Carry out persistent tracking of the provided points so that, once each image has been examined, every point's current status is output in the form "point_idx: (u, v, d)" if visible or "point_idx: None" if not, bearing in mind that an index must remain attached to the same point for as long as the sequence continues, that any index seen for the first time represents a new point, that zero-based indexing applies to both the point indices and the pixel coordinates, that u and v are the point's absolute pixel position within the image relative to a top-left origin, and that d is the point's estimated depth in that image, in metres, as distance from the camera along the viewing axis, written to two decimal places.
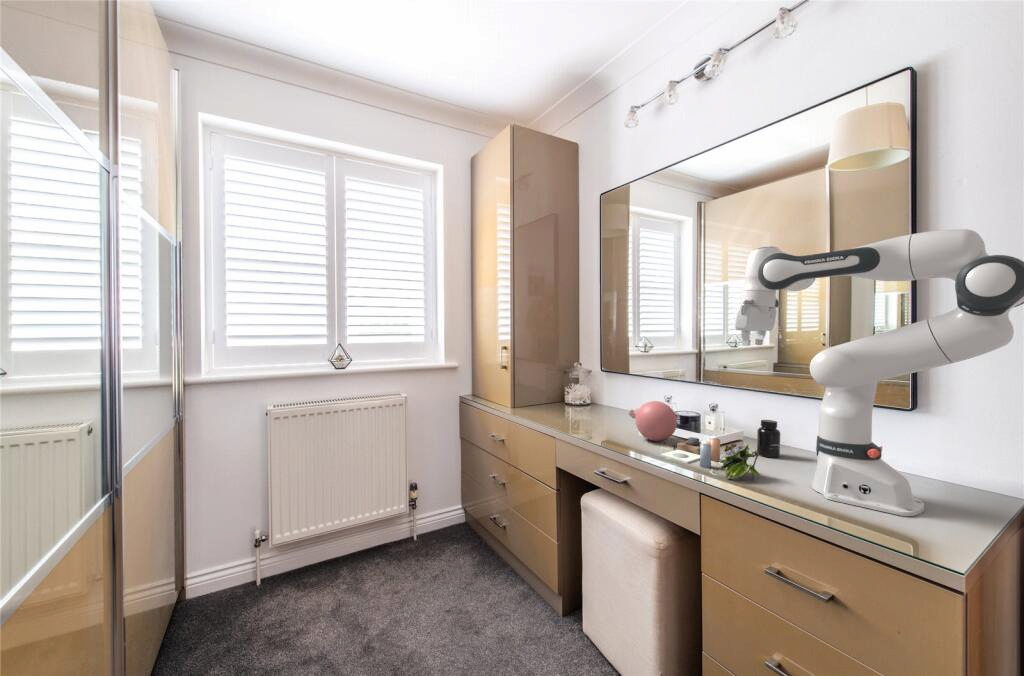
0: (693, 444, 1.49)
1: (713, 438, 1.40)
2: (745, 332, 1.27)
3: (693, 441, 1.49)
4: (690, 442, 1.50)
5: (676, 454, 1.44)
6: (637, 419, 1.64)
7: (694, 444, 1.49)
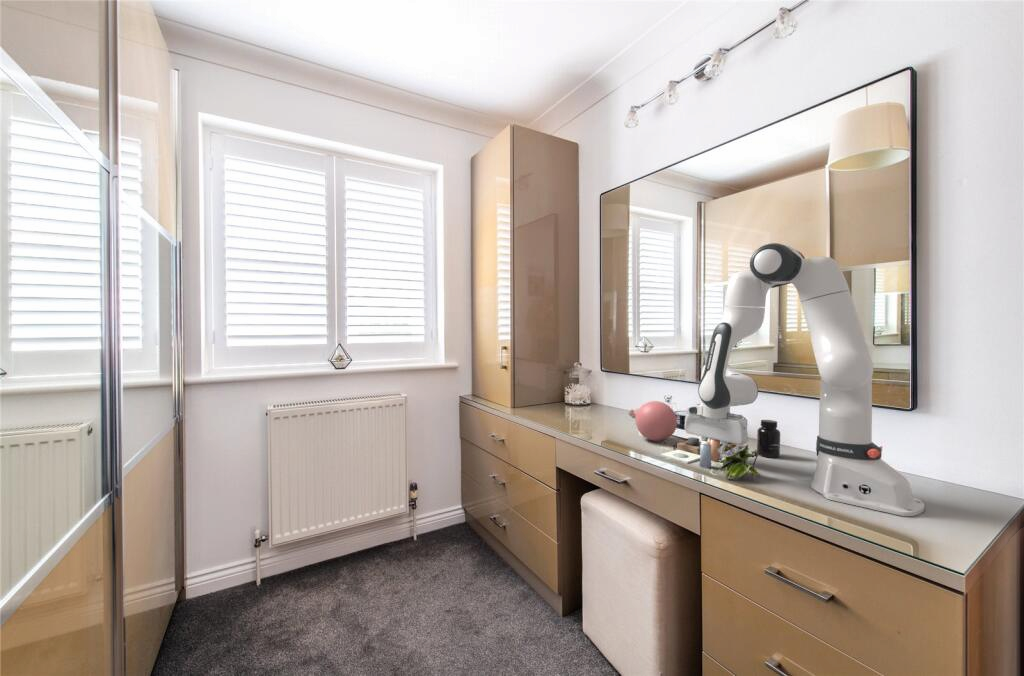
0: (693, 444, 1.49)
1: None
2: (727, 442, 1.37)
3: (693, 441, 1.49)
4: (690, 442, 1.50)
5: (676, 454, 1.44)
6: (637, 419, 1.64)
7: (694, 444, 1.49)
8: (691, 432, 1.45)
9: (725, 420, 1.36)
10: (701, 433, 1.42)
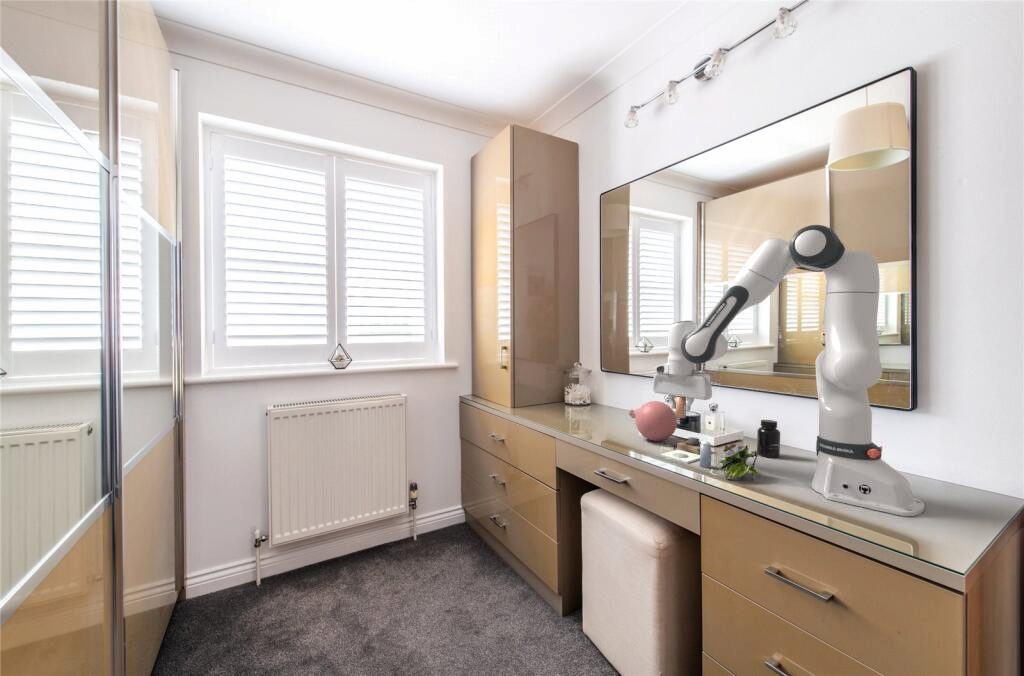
0: (693, 444, 1.49)
1: None
2: (692, 399, 1.39)
3: (693, 441, 1.49)
4: (690, 442, 1.50)
5: (676, 454, 1.44)
6: (637, 419, 1.64)
7: (694, 444, 1.49)
8: (659, 391, 1.48)
9: (690, 377, 1.38)
10: (668, 391, 1.45)
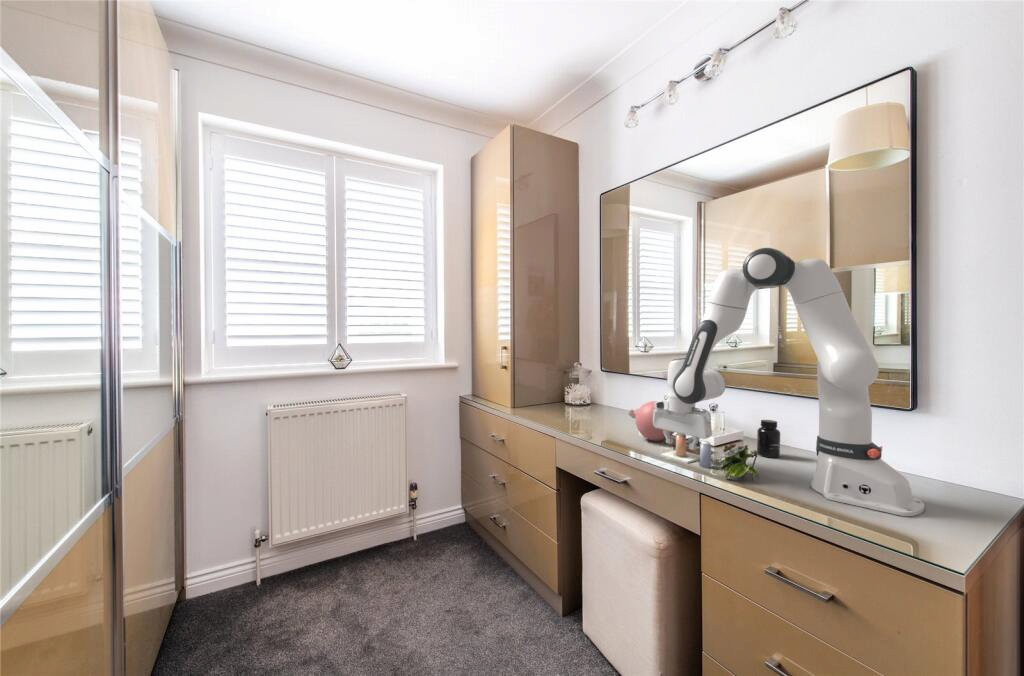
0: None
1: (679, 434, 1.42)
2: (698, 437, 1.38)
3: None
4: (690, 442, 1.50)
5: None
6: (637, 419, 1.64)
7: None
8: (659, 427, 1.48)
9: (690, 414, 1.38)
10: (668, 427, 1.45)
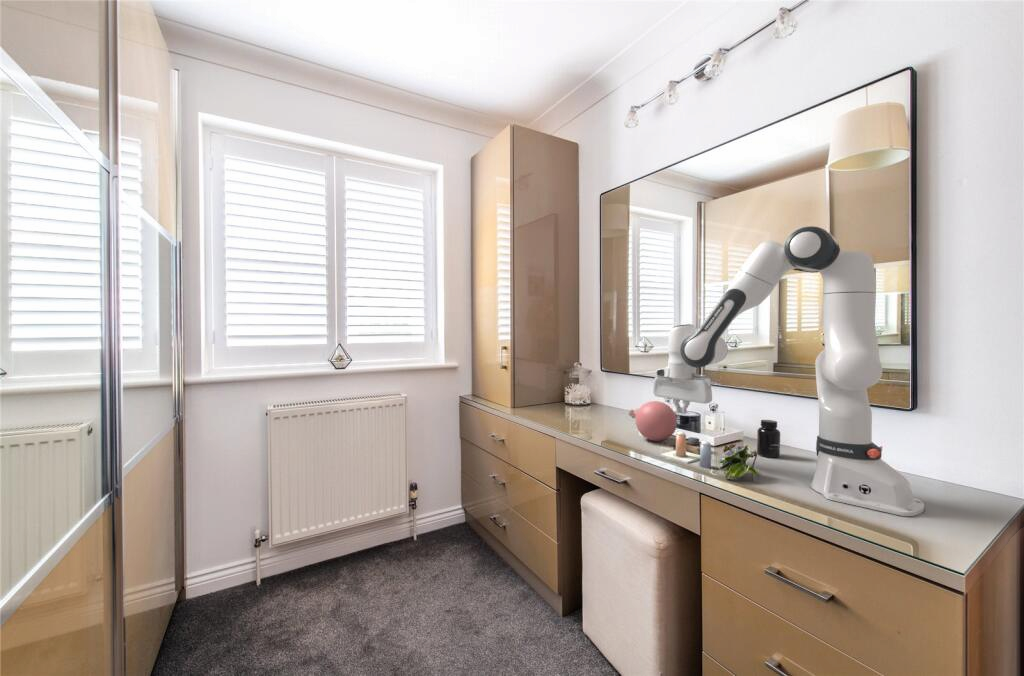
0: (693, 444, 1.49)
1: (679, 434, 1.42)
2: (688, 402, 1.41)
3: (693, 441, 1.49)
4: (690, 442, 1.50)
5: None
6: (637, 419, 1.64)
7: (694, 444, 1.49)
8: (659, 395, 1.48)
9: (690, 380, 1.38)
10: (668, 395, 1.45)
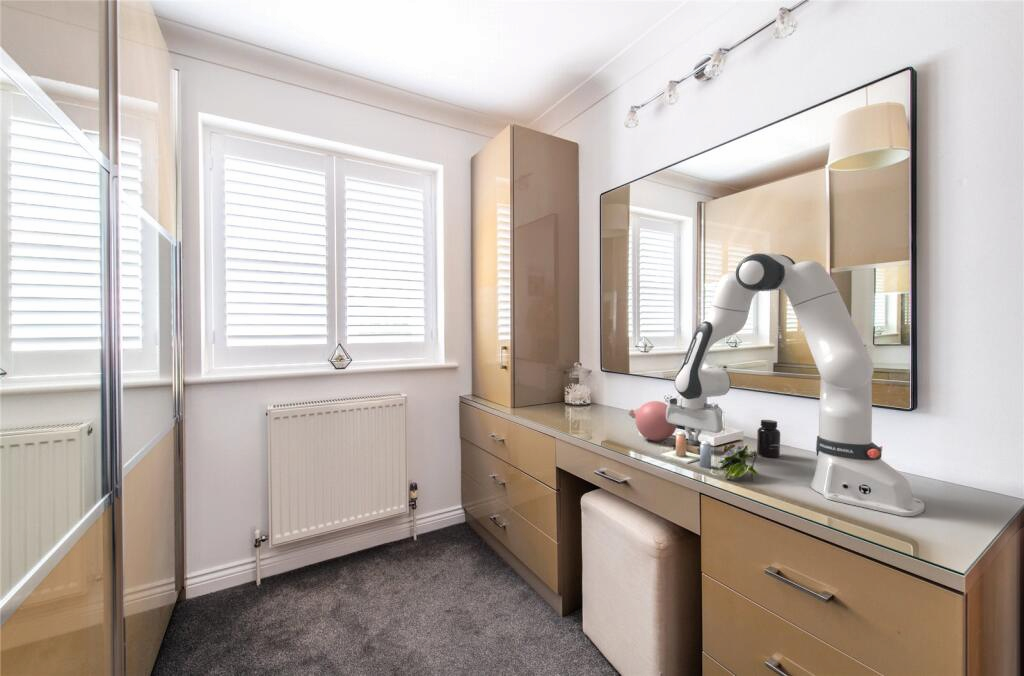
0: None
1: (679, 434, 1.42)
2: (700, 430, 1.49)
3: (693, 443, 1.49)
4: (690, 444, 1.50)
5: None
6: (637, 419, 1.64)
7: None
8: (672, 422, 1.56)
9: (702, 410, 1.46)
10: (681, 423, 1.53)
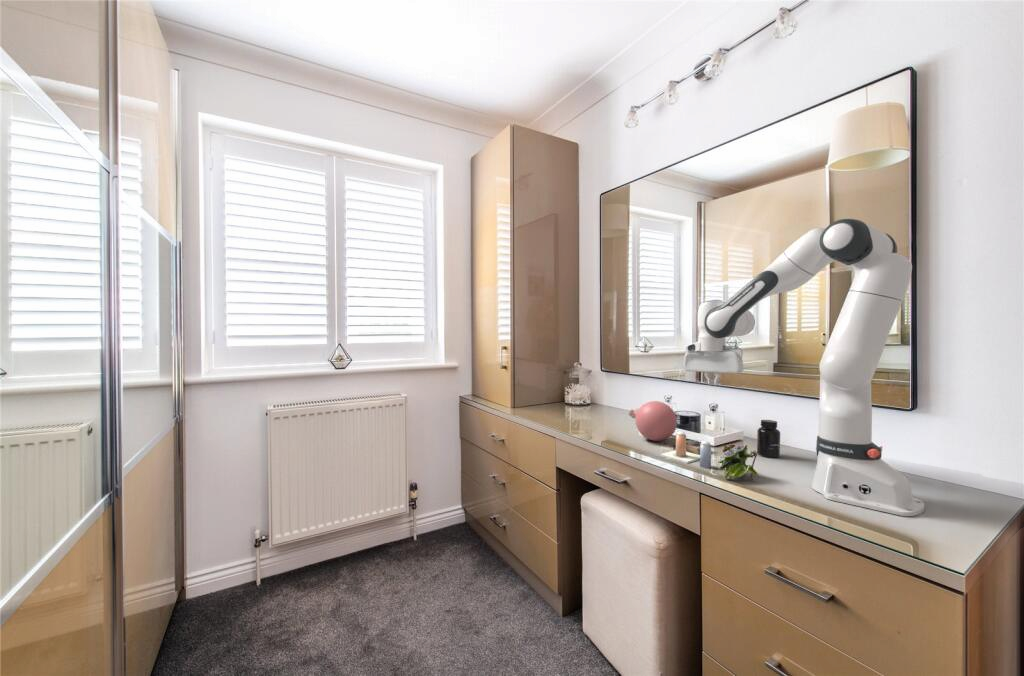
0: None
1: (679, 434, 1.42)
2: (720, 373, 1.48)
3: (693, 444, 1.49)
4: None
5: None
6: (637, 419, 1.64)
7: None
8: (690, 369, 1.55)
9: (722, 352, 1.45)
10: (700, 368, 1.52)
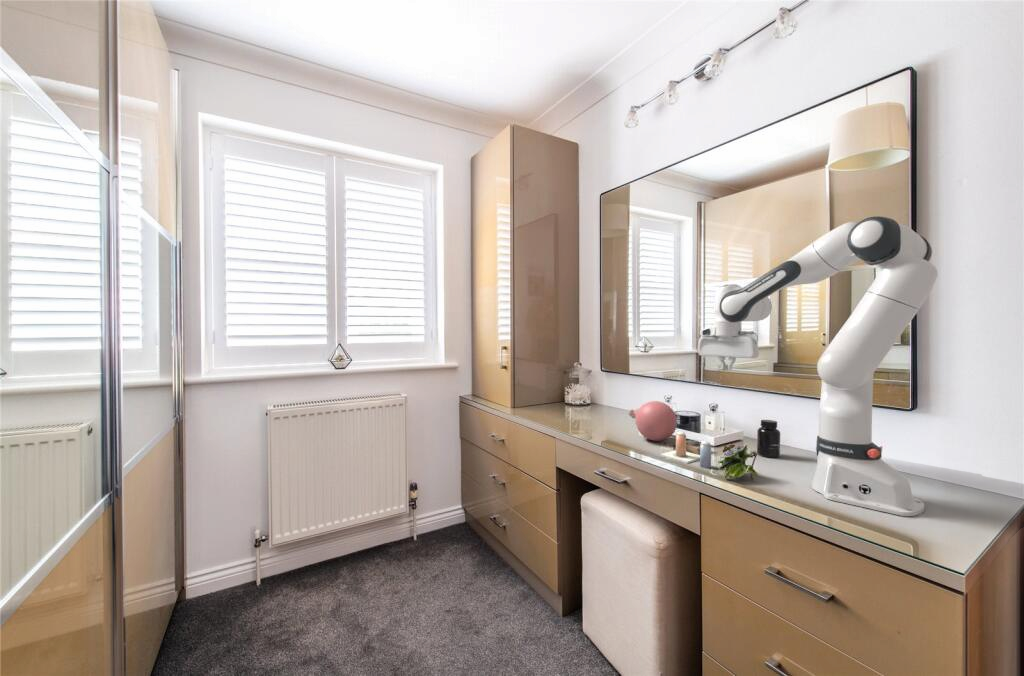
0: None
1: (679, 434, 1.42)
2: (734, 358, 1.48)
3: (693, 444, 1.49)
4: None
5: None
6: (637, 419, 1.64)
7: None
8: (704, 354, 1.55)
9: (737, 337, 1.45)
10: (714, 353, 1.52)
